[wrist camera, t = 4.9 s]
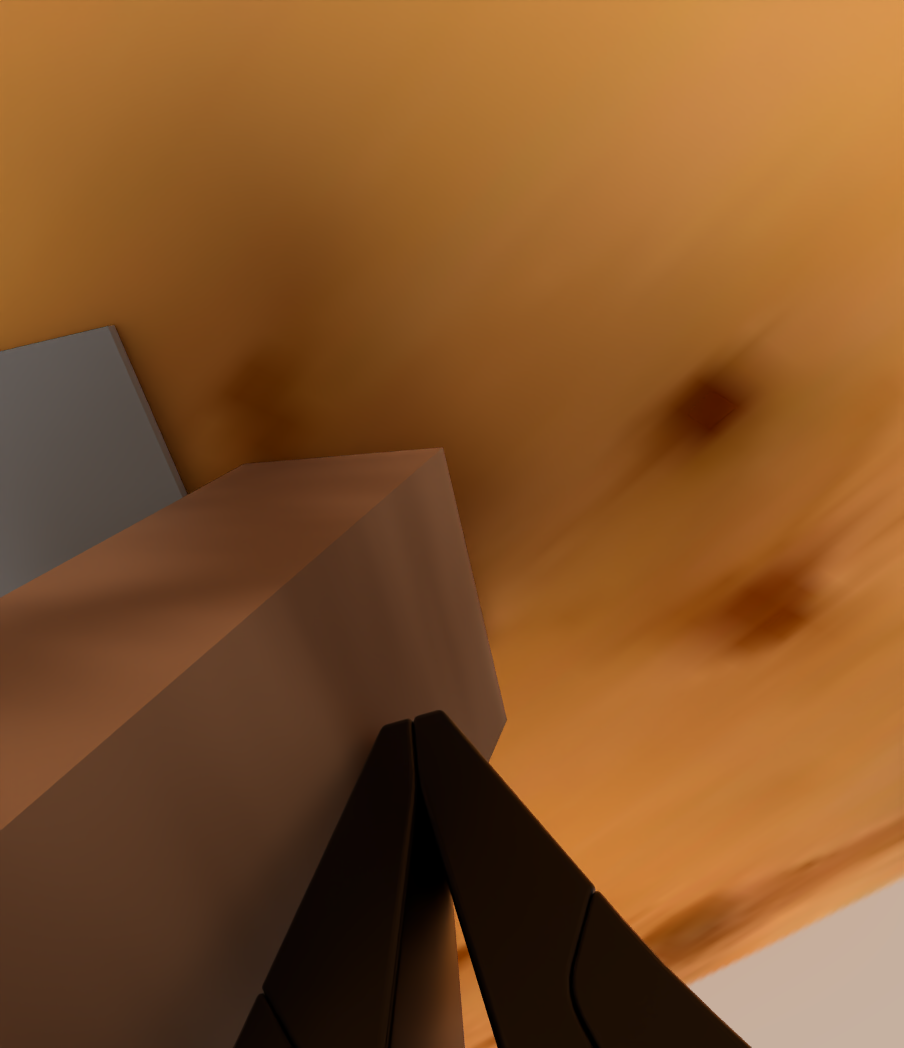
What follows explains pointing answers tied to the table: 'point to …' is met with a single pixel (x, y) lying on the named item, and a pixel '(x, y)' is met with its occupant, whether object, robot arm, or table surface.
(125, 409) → the rubber mat
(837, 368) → the table surface
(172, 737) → the walnut block
